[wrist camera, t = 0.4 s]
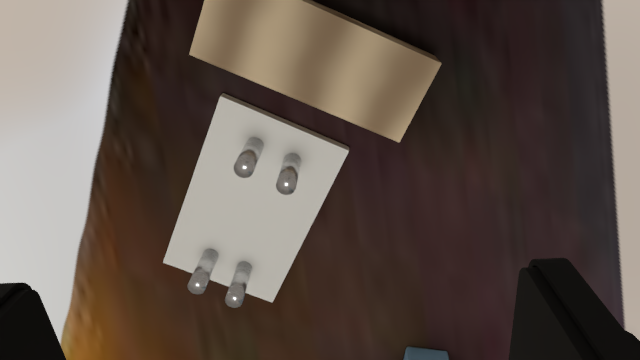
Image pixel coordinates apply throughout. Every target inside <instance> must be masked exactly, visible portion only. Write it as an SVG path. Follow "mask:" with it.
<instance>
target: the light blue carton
mask: <svg viewBox="0 0 640 360" xmlns="http://www.w3.org/2000/svg"><path fill="white" fill-rule="evenodd" d="M403 360H449V357H448V353H447V351H442V350H434V349H427V348H419V347H411V346H408V347H407V348H406V351H405V355H404V359H403Z"/></svg>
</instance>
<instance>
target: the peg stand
mask: <svg viewBox="0 0 640 360" xmlns="http://www.w3.org/2000/svg"><path fill="white" fill-rule="evenodd" d="M348 152H349V147H348V146H346V145H344V144H341V143H339V142H337V141H334V140H332V139H330V138H327V137H325V136H323V135H320V134H318V133H316V132H313V131H311V130H309V129H306V128H304V127H302V126H299V125H297V124H295V123H292V122H290V121H288V120H285V119H283V118H281V117H278V116H276V115H274V114H271V113H269V112H267V111H264V110H262V109H260V108H257V107H255V106H253V105H250V104H248V103H246V102H243V101H241V100H239V99H236V98H234V97H232V96H229V95H227V94H225V93H223V94H222V95H221V96H220V98H219V101H218V104H217V107H216V110H215V113H214V116H213V119H212V122H211V125H210V127H209V130H208V133H207V136H206V139H205V142H204V145H203V148H202V151H201V154H200V156H199V159H198V162H197V165H196V168H195V171H194V174H193V177H192V180H191V182H190V185H189V188H188V191H187V194H186V197H185V200H184V203H183V206H182V209H181V211H180V214H179V217H178V220H177V223H176V226H175V229H174V232H173V235H172V238H171V240H170V243H169V246H168V249H167V252H166V255H165V258H164V261H163V263H166V264H169V265H171V266H174V267H177V268H180V269H182V270H185V271H188V272H190V273H193V275H192V277H191V279H190V281H189V283H188V289H189V291H190V292H192V293H194V294H202V293H203V292H204V291H205V289H206V286H207V284H208V282H209V279H210V280H212V281H215V282H218V283H220V284H223V285H226V286H229V289H228V292H227V295H226V298H225V302H226V304H227V305H228V306H230V307H233V308H237V307H240V306H241V305H242V302H243V299H244V296H245V293H248V294H250V295H253V296H256V297H259V298H261V299H264V300H267V301H269V302H273V300H274V298H275V296H276V294H277V293H278V291H279V289H280V287H281V285H282V283H283V281H284V279H285V277H286V275H287V273H288V271H289V269H290V267H291V265H292V263H293V261H294V259H295V257H296V255H297V253H298V251H299V249H300V247H301V245H302V243H303V241H304V239H305V237H306V235H307V233H308V231H309V229H310V227H311V225H312V223H313V221H314V219H315V217H316V215H317V213H318V211H319V209H320V207H321V206H322V204H323V202H324V200H325V198H326V196H327V194H328V192H329V190H330V188H331V186H332V184H333V182H334V180H335V178H336V176H337V174H338V172H339V170H340V168H341V166H342V164H343V162H344V160H345V158H346V156H347V154H348Z"/></svg>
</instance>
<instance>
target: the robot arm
mask: <svg viewBox="0 0 640 360" xmlns="http://www.w3.org/2000/svg"><path fill="white" fill-rule="evenodd" d="M0 360H66V358H65V356H64V353H63V351H62V348H61V346H60V344H59V341H58V339H57V336H56V334H55V332H54V329H53V327H52V325H51V322H50V320H49V317H48V315H47V312H46V310H45V308H44V305H43V303H42V301H41V298H40V296H39V294H38V292H36V291H35V290H32V289H31V287H30V286H29V285H28V284H26V283H5V284H0ZM509 360H640V341H639V340H638V339H637V338H636V337H635V336H634V335H633V334H631V333H629V332H627V331H625V330H624V329H623V328H622V327H621V325H620V324H619V323H618V322H617V320H616V319H615V318H614V317H613V315H612V314H611V313H610V312H609V310H608V309H607V308H606V306H605V305H604V304H603V303H602V301H601V300H600V299H599V298H598V296H597V295H596V294H595V293H594V291H593V290H592V289H591V288H590V286H589V285H588V284H587V283H586V281H585V280H584V279H583V277H582V276H581V275H580V274H579V272H578V271H577V270H576V269H575V267H574V266H573V265H572V264H571V262H570V261H569V260H568V259H565V258H552V259H533V260H531V262H530V264H529V267H528V268H522V269H521V270H520V272H519V279H518V287H517V295H516V304H515V312H514V320H513V329H512V337H511V345H510V353H509Z"/></svg>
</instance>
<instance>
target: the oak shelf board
mask: <svg viewBox="0 0 640 360" xmlns="http://www.w3.org/2000/svg"><path fill="white" fill-rule="evenodd" d="M189 55H192V56H194V57H196V58H199V59H201V60H203V61H206V62H208V63H211V64H213V65H215V66H218V67H220V68H223V69H225V70H227V71H230V72H232V73H234V74H237V75H239V76H242V77H244V78H246V79H249V80H251V81H254V82H256V83H258V84H261V85H263V86H266V87H268V88H270V89H273V90H275V91H277V92H280V93H282V94H285V95H287V96H289V97H292V98H294V99H297V100H299V101H301V102H304V103H306V104H308V105H311V106H313V107H316V108H318V109H320V110H323V111H325V112H328V113H330V114H332V115H335V116H337V117H339V118H342V119H344V120H347V121H349V122H351V123H354V124H356V125H359V126H361V127H363V128H366V129H368V130H371V131H373V132H375V133H378V134H380V135H382V136H385V137H387V138H390V139H392V140H394V141H397V142H400V140H401V139H402V137H403V135H404V133H405V131H406V129H407V127H408V125H409V124H410V122H411V120H412V118H413V116H414V114H415V112H416V111H417V109H418V107H419V105H420V103H421V101H422V99H423V97H424V96H425V94H426V92H427V90H428V88H429V86H430V84H431V83H432V81H433V79H434V77H435V75H436V73H437V71H438V69H439V68H440V66H441V64H442V63H441V62H440V61H439V60H438V59H437V58H436V57H435V56H434V55H432V54H430V53H428V52H426V51H423V50H421V49H419V48H417V47H414V46H412V45H410V44H408V43H406V42H403V41H401V40H399V39H397V38H395V37H392V36H390V35H388V34H386V33H383V32H381V31H379V30H377V29H375V28H372V27H370V26H368V25H366V24H363V23H361V22H359V21H357V20H355V19H352V18H350V17H348V16H346V15H344V14H341V13H339V12H337V11H335V10H332V9H330V8H328V7H326V6H324V5H321V4H319V3H317V2H315V1H313V0H205V1H204V4H203V8H202V11H201V15H200V18H199V22H198V25H197V29H196V32H195V36H194V39H193V43H192V46H191V50H190V53H189Z"/></svg>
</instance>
